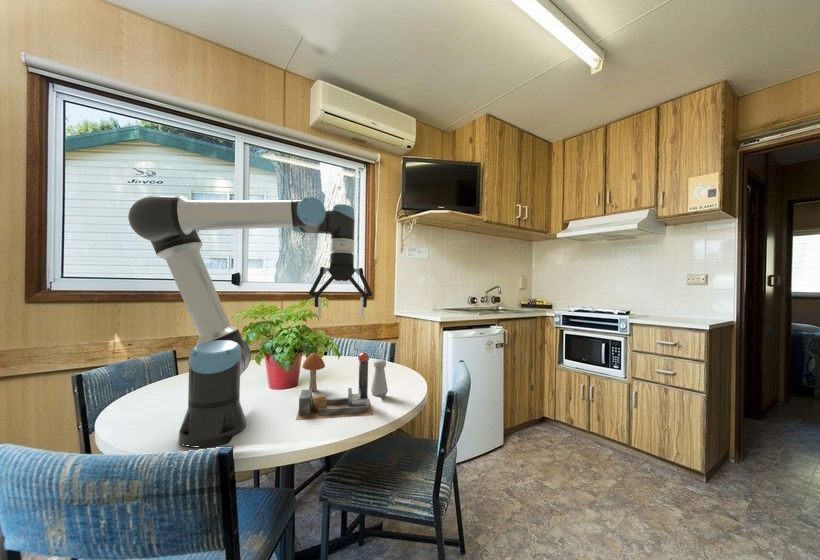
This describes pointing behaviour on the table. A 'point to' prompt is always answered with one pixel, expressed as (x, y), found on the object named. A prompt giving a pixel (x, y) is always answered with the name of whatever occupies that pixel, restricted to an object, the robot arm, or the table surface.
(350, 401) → the handle
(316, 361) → the mushroom
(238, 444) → the table surface
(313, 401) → the brown wooden cube
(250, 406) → the table surface
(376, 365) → the salt shaker
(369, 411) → the press bench
